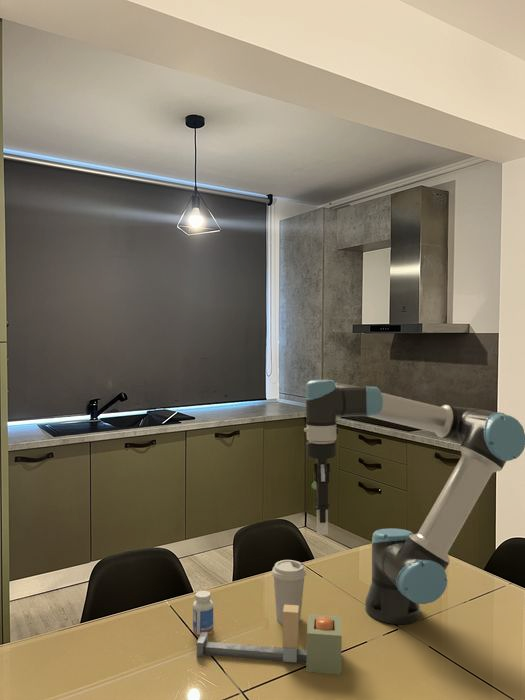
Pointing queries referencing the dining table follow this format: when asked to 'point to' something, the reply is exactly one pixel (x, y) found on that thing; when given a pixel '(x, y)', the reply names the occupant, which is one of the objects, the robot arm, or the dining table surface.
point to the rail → (243, 650)
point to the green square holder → (324, 647)
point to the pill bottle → (202, 613)
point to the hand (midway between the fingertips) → (322, 533)
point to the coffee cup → (288, 585)
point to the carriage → (290, 632)
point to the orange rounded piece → (324, 623)
